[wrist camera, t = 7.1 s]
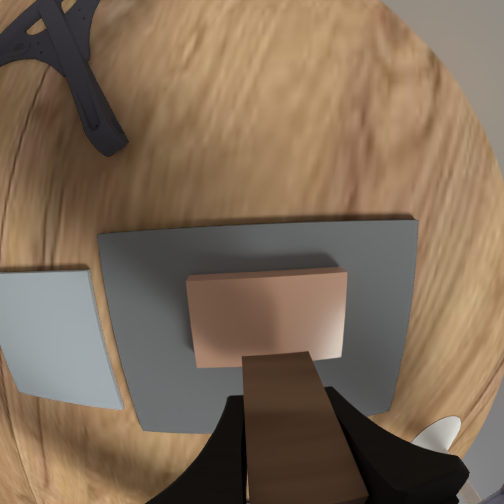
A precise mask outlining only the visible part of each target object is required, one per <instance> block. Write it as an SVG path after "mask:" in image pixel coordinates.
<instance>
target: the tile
mask: <svg viewBox="0 0 504 504" xmlns="http://www.w3.org/2000/svg"><path fill="white" fill-rule="evenodd" d="M186 287H187V296H188V305H189V313H190V321H191V329H192V337H193V344H194V351H195V358H196V365H197V368H218V367H242V356H254V355H269V354H282V353H293V352H304V351H309V353H310V356H311V358H312V360H313V361H314V360H322V359H330V358H338V357H341V353H342V343H343V333H344V321H345V307H346V291H347V271H345V270H344V269H343V268H342V267H341V266H340V267H325V268H310V269H293V270H276V271H258V272H239V273H219V274H197V275H189V276H188V278H187V280H186Z"/></svg>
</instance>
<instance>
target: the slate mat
mask: <svg viewBox="0 0 504 504" xmlns="http://www.w3.org/2000/svg"><path fill="white" fill-rule="evenodd" d="M97 237H98V245H99V253H100V260H101V267H102V273H103V280H104V285H105V291H106V297H107V302H108V307H109V312H110V317H111V322H112V326H113V331H114V335H115V339H116V343H117V347H118V351H119V355H120V359H121V363H122V367H123V370H124V374H125V377H126V381H127V384H128V388H129V391H130V394H131V397H132V401H133V404H134V407H135V410H136V413H137V416H138V419H139V422H140V424H141V427H142V430H143V431H151V432H167V433H196V434H212V433H213V432H214V430H215V428H216V426H217V424H218V422H219V420H220V418H221V415H222V413H223V410H224V408H225V404H226V401H227V397H228V396H230V395H243V375H242V367H218V368H197V365H196V358H195V351H194V344H193V337H192V329H191V321H190V313H189V305H188V296H187V287H186V280H187V278H188V276H189V275H197V274H219V273H239V272H258V271H276V270H293V269H310V268H325V267H340V266H341V267H342V268H343V269H344V270H345V271H347V291H346V307H345V321H344V333H343V343H342V353H341V357H338V358H330V359H322V360H314V361H313V363H314V365H315V367H316V370H317V372H318V374H319V377H320V379H321V381H322V384H323V386H324V387H329V386H332V387H333V388H335V389H336V390H337V391H338V392H339V393H340V394H341V395H342V396H343V397H344V398H345V399H346V400H347V401H348V402H349V403H350V404H352V405H353V406H354V407H355V408H356V409H357V410H359V411H360V412H361V413H362V414H363V415H365V416H371V415H375V414H379V413H383V412H387V411H389V410H390V406H391V402H392V399H393V395H394V391H395V387H396V383H397V379H398V374H399V370H400V365H401V361H402V356H403V351H404V346H405V340H406V335H407V329H408V323H409V317H410V310H411V303H412V295H413V287H414V278H415V268H416V256H417V241H418V220H416V219H402V220H348V221H314V222H286V223H262V224H240V225H221V226H203V227H186V228H170V229H155V230H141V231H127V232H114V233H101V234H98V235H97Z"/></svg>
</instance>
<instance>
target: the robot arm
mask: <svg viewBox="0 0 504 504" xmlns="http://www.w3.org/2000/svg"><path fill="white" fill-rule="evenodd" d="M324 389H325V391H326V393H327V396H328V398H329V400H330V403H331V405H332V407H333V410H334V412H335V415H336V417H337V419H338V422H339V424H340V426H341V429H342V431H343V434H344V436H345V438H346V441H347V443H348V446H349V448H350V450H351V453H352V455H353V458H354V460H355V462H356V465H357V467H358V470H359V472H360V475H361V477H362V479H363V482H364V484H365V487H366V489H367V492H368V494H369V496H368V498H367V500H366V502H365V504H458V503H459V499H458V498H457V496H456V494H457V493H458V492H459V491H460V489H461V488H462V487H463V485H464V484H465V483H466V481H467V479H468V477H469V473H470V472H469V471H468V469H467V467H466V466H465V465H464V463H463V462H462V461H461V459H460V458H459V457H458V456H455V455H450V454H445V453H440V452H436V451H432V450H429V449H426V448H423V447H420V446H417V445H414V444H412V443H410V442H407V441H405V440H403V439H401V438H399V437H397V436H395V435H393V434H391V433H390V432H388V431H386V430H384V429H383V428H381V427H380V426H378V425H377V424H375V423H374V422H372V421H371V420H370V419H368V418H367V417H366V416H365V415H363V414H362V413H361V412H360V411H359V410H357V409H356V408H355V407H354V406H353V405H352V404H350V403H349V402H348V401H347V400H346V399H345V398H344V397H343V396H342V395H341V394H340V393H339V392H338V391H337V390H336V389H335V388H333V387H332V386H329V387H324ZM246 488H247V451H246V433H245V415H244V395H230V396H228V397H227V401H226V404H225V408H224V410H223V413H222V415H221V418H220V420H219V422H218V424H217V426H216V428H215V430H214V432H213V433H212V435H211V437H210V439H209V440H208V442H207V444H206V445H205V447H204V448H203V450H202V451H201V452H200V454H199V455H198V456H197V458H196V459H195V460H194V461H193V463H192V464H191V465H190V466H189V467H188V468H187V469H186V470H185V472H184V473H183V474H182V475H181V476H180V477H178V478H177V479H176V480H175V481H174V482H173V483H172V484H171V485H170V486H168V487H167V488H166V489H165V490H164V491H162V492H161V493H159V494H158V495H157V496H155V497H154V498H152V499H151V500H150V501H148V502H147V503H145V504H250V503H247V499H246ZM477 504H504V484H503V486H502V487H501V489H500V490H498V491H497V492H496V493H494V494H492V495H490V496H489V497H487V498H486V499H484V500H482V501H481V502H479V503H477Z"/></svg>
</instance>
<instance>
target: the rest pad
mask: <svg viewBox="0 0 504 504" xmlns="http://www.w3.org/2000/svg"><path fill="white" fill-rule="evenodd" d="M0 346H1V349H2V351H3V354H4V357H5V359H6V362H7V365H8V367H9V370H10V372H11V374H12V377H13V379H14V382H15V384H16V386H17V388H18V391H19V392H21V393H25V394H29V395H33V396H38V397H42V398H47V399H52V400H57V401H62V402H68V403H74V404H80V405H86V406H93V407H101V408H109V409H118V410H123V408H124V404H123V401H122V398H121V395H120V392H119V389H118V386H117V383H116V379H115V376H114V373H113V369H112V366H111V362H110V359H109V355H108V352H107V348H106V344H105V340H104V336H103V332H102V328H101V323H100V319H99V314H98V310H97V305H96V300H95V295H94V289H93V284H92V278H91V272H90V269H84V270H56V271H27V272H0Z"/></svg>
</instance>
